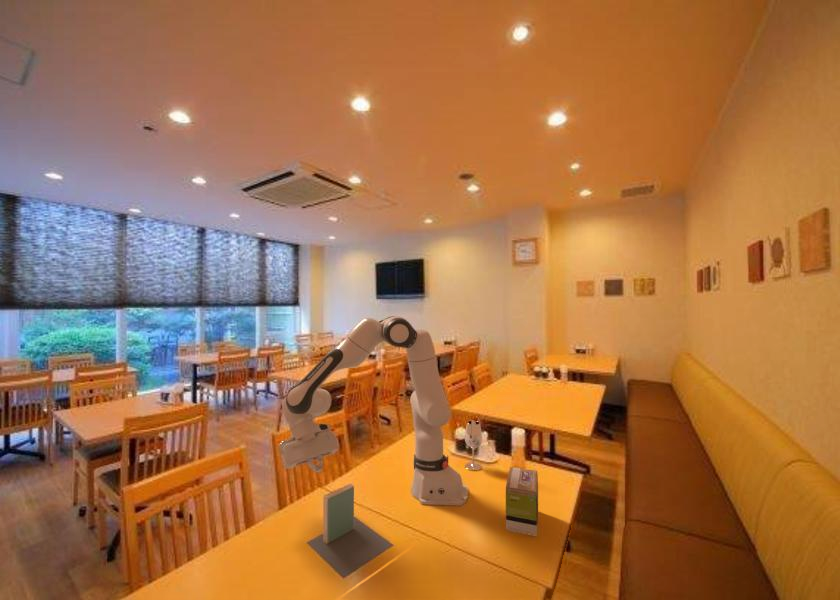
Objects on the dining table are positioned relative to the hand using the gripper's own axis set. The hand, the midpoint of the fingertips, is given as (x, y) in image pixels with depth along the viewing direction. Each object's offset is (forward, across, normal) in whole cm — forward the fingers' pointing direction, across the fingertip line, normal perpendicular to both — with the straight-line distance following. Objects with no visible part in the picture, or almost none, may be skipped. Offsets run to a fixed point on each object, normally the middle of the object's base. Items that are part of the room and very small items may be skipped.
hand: (319, 471), depth 121 cm
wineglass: (+22, +69, +1) cm, 72 cm away
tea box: (+47, +48, -24) cm, 72 cm away
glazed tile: (+20, 0, +3) cm, 20 cm away
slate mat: (+25, 0, -1) cm, 25 cm away
